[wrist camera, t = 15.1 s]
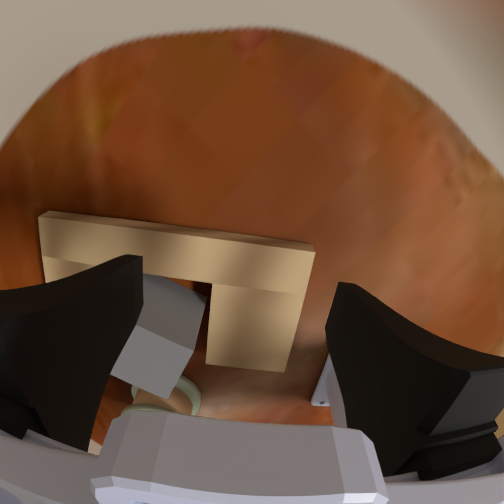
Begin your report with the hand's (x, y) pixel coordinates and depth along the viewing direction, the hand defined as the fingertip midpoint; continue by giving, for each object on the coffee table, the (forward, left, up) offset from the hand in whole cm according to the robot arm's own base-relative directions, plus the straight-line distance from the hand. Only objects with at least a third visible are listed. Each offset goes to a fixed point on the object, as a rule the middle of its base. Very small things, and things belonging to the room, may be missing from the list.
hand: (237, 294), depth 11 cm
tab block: (+5, +8, -10) cm, 13 cm away
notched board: (+5, +6, -9) cm, 12 cm away
